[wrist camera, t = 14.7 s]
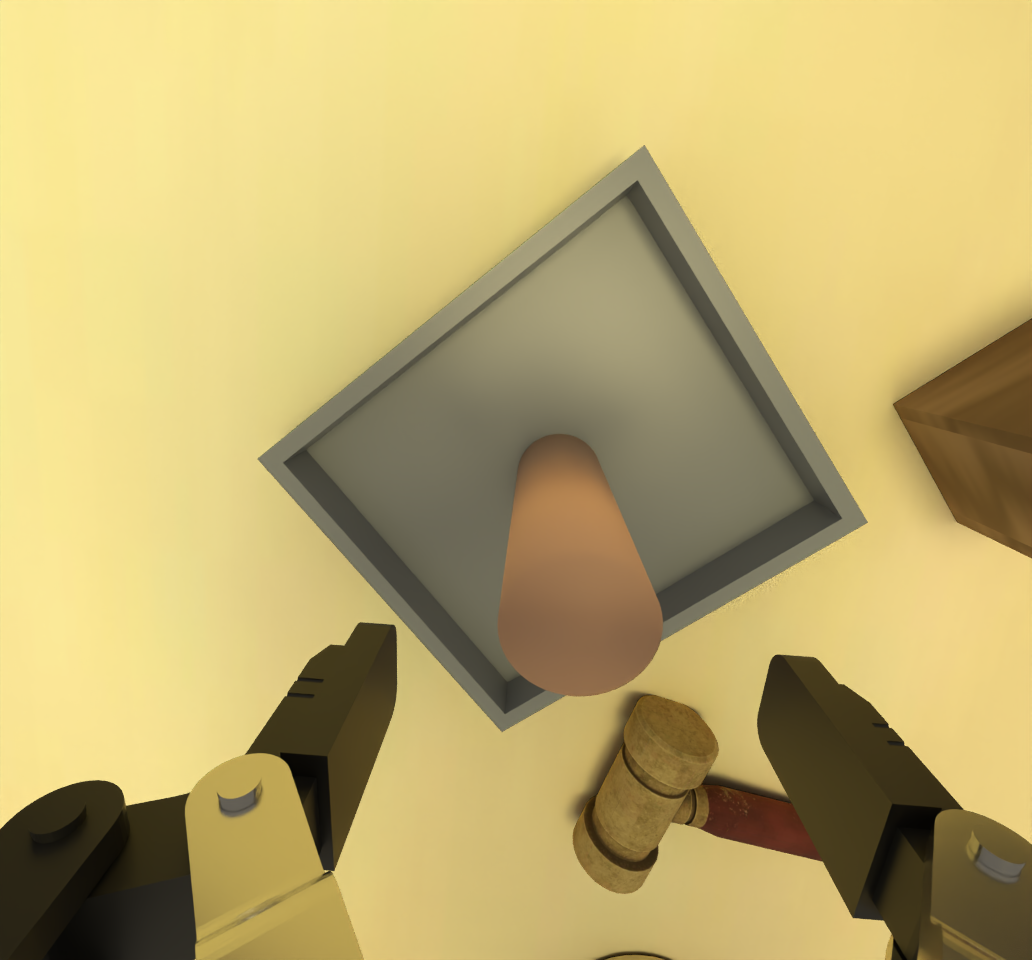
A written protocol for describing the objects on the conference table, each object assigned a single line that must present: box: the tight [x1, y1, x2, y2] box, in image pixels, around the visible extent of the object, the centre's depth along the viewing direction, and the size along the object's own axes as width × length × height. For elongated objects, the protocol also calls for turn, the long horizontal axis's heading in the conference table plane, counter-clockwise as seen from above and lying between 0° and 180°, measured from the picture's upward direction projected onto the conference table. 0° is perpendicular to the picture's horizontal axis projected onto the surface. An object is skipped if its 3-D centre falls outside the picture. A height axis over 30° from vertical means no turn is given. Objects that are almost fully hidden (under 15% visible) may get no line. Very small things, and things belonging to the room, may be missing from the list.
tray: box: [258, 145, 868, 732], centre depth 24 cm, size 18×20×3 cm
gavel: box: [573, 695, 822, 894], centre depth 30 cm, size 21×5×10 cm
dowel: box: [497, 434, 663, 696], centre depth 19 cm, size 4×4×13 cm
